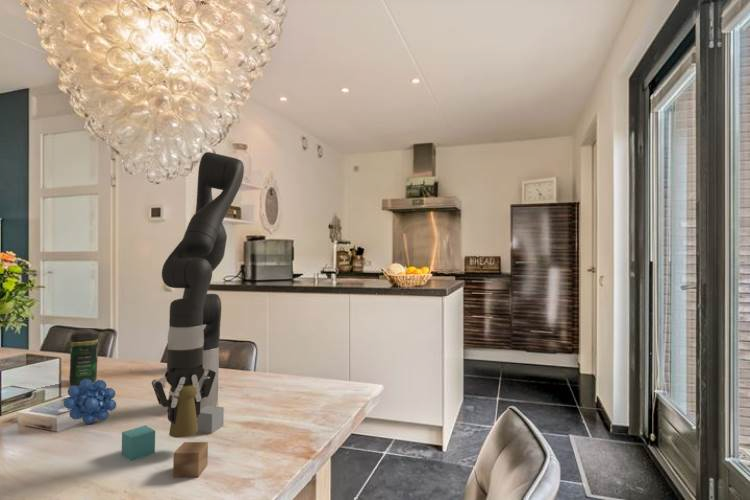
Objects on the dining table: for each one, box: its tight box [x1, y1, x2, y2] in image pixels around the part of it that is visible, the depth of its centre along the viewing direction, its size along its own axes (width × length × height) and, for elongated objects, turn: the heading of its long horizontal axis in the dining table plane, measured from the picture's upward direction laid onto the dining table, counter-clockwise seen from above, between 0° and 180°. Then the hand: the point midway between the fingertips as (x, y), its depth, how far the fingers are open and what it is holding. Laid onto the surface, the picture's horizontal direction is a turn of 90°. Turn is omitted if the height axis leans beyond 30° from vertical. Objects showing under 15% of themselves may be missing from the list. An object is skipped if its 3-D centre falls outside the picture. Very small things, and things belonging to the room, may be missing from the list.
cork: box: [168, 384, 199, 439], centre depth 96 cm, size 6×6×11 cm
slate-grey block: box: [197, 405, 225, 434], centre depth 108 cm, size 5×5×5 cm
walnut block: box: [172, 441, 209, 479], centre depth 87 cm, size 5×5×5 cm
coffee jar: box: [69, 328, 99, 387], centre depth 147 cm, size 10×8×19 cm
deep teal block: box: [121, 425, 156, 462], centre depth 94 cm, size 5×5×5 cm
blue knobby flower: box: [63, 379, 117, 425], centre depth 110 cm, size 12×7×12 cm, turn 128°
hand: (184, 419), depth 96 cm, fingers closed on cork, 4 cm apart
